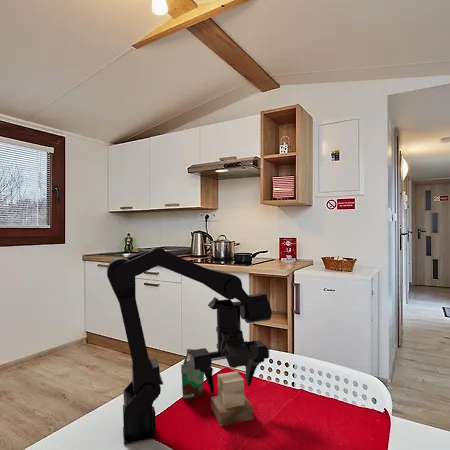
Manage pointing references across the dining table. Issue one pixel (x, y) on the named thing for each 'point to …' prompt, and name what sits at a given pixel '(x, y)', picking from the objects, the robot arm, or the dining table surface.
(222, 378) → the birch block
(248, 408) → the walnut base
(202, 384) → the food container
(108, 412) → the dining table surface
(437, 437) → the dining table surface
